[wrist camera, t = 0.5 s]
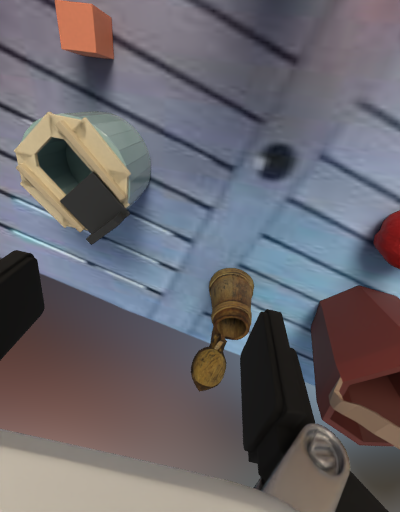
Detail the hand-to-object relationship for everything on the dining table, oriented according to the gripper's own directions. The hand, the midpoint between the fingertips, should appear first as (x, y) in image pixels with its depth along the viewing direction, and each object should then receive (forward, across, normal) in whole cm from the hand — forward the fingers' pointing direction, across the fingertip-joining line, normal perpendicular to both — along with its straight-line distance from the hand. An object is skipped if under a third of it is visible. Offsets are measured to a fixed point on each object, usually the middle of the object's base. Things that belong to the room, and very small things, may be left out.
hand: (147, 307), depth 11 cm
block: (+34, +18, -11) cm, 39 cm away
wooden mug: (+34, -9, +25) cm, 43 cm away
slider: (+23, +13, +7) cm, 27 cm away
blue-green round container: (+34, +16, +4) cm, 37 cm away
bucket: (+34, -36, +23) cm, 55 cm away
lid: (+24, +16, +4) cm, 29 cm away
